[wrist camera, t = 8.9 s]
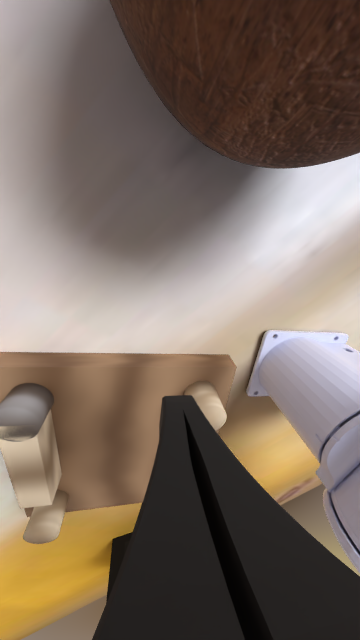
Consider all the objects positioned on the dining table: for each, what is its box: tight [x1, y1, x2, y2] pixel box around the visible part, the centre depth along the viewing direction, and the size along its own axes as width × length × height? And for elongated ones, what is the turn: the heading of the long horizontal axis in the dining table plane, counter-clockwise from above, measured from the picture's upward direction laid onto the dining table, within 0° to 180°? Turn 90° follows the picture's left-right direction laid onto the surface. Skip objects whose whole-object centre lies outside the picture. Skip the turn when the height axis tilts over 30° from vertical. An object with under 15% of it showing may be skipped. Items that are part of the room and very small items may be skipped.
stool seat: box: [0, 352, 237, 544], centre depth 20 cm, size 20×20×5 cm
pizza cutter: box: [0, 383, 62, 509], centre depth 17 cm, size 12×3×2 cm, turn 173°
